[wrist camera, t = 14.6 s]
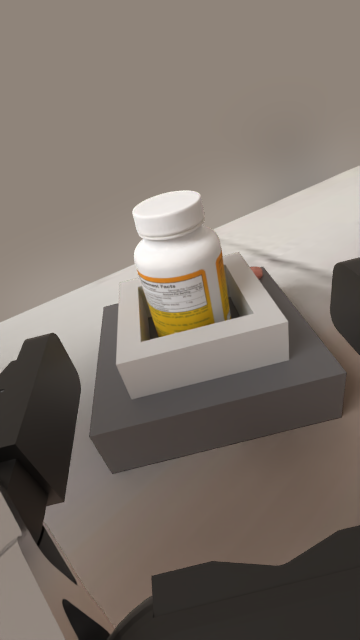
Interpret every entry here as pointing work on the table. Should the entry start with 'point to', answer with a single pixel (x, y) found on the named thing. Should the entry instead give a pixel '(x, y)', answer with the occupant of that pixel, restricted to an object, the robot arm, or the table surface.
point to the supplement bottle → (180, 263)
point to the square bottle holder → (208, 375)
